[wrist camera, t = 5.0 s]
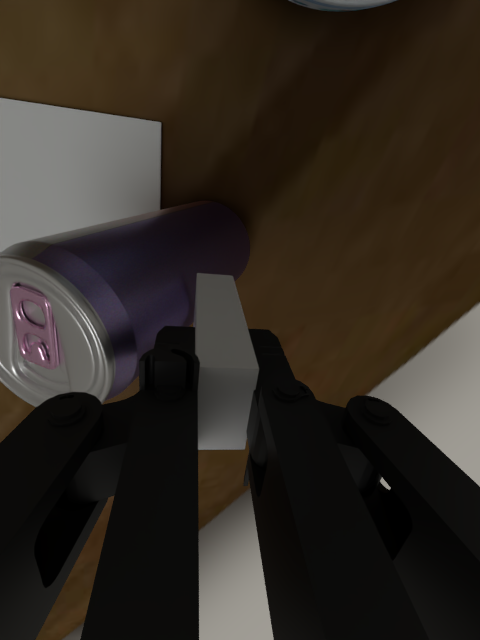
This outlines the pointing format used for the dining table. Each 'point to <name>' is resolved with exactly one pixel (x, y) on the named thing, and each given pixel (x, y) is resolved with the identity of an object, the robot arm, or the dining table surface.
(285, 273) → the dining table surface
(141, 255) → the beverage can
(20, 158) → the flat grey rectangular board
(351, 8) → the chinaware
